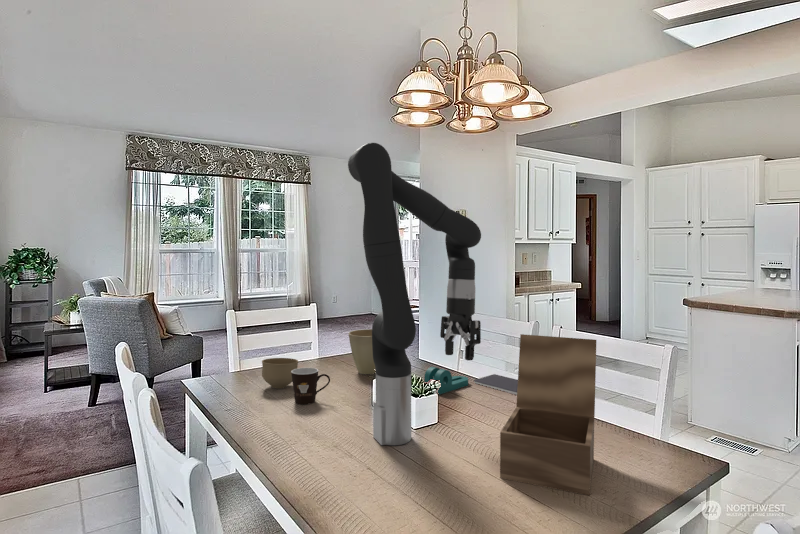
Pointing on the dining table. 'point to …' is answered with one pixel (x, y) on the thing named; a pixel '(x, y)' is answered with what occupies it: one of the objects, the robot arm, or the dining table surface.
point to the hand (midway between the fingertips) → (458, 357)
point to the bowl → (278, 371)
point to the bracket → (445, 379)
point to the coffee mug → (306, 384)
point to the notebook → (499, 383)
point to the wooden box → (548, 449)
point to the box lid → (557, 374)
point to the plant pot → (362, 350)
